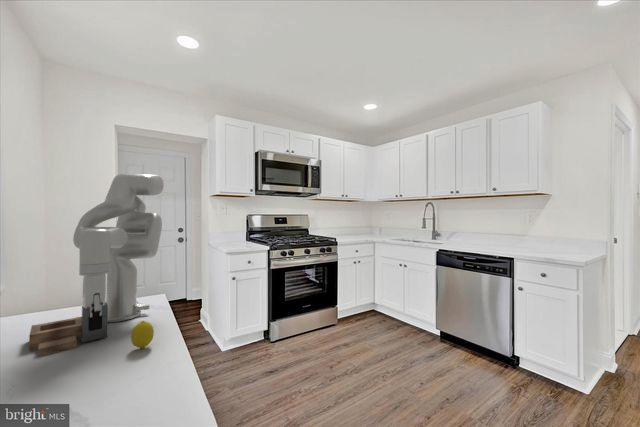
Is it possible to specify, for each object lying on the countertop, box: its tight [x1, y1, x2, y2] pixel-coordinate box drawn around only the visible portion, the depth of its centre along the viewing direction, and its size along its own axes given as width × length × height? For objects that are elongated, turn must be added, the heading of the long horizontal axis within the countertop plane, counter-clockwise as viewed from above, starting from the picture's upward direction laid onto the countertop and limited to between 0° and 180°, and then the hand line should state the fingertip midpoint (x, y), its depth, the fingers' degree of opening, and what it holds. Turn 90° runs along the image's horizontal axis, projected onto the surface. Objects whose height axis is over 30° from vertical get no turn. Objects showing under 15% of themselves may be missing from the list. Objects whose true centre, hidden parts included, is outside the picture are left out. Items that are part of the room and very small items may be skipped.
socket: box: [28, 316, 82, 357], centre depth 87 cm, size 12×22×4 cm, turn 43°
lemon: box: [130, 320, 155, 350], centre depth 81 cm, size 6×6×8 cm
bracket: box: [81, 301, 109, 343], centre depth 87 cm, size 6×4×10 cm, turn 133°
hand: (94, 327), depth 87 cm, fingers closed on bracket, 3 cm apart
